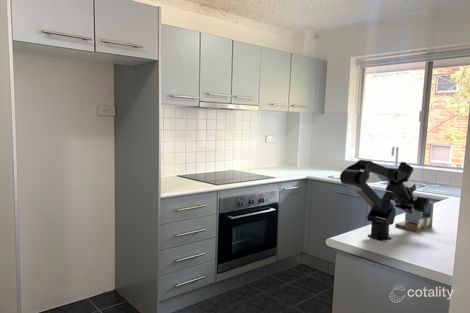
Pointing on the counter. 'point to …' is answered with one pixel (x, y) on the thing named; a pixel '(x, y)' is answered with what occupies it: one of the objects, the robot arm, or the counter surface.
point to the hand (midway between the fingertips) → (410, 212)
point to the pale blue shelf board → (414, 216)
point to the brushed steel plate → (429, 211)
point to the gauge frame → (415, 225)
